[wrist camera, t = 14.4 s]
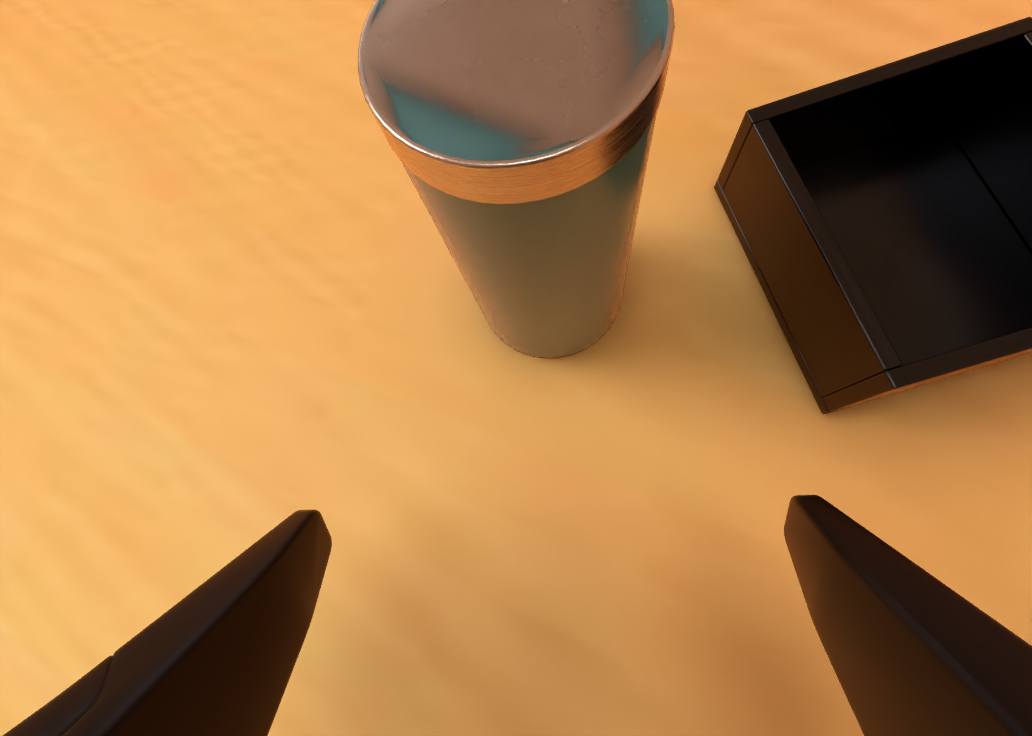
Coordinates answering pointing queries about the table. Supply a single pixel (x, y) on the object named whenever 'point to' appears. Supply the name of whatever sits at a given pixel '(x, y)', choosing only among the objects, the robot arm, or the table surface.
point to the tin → (525, 146)
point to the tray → (895, 216)
